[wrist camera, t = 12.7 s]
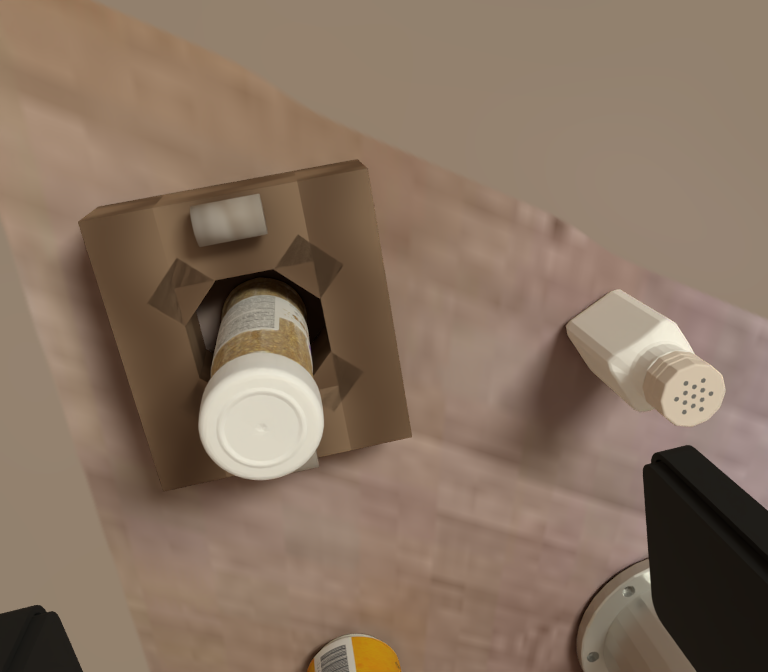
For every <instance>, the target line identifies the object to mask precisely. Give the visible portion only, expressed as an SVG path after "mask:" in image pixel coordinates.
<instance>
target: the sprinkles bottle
mask: <svg viewBox="0 0 768 672" xmlns="http://www.w3.org/2000/svg"><path fill="white" fill-rule="evenodd" d="M221 318H222V322H221V325H220V329H219V333H218V337H217V342H216V347H215V352H214V356H213V361H212V366H211V379H210V380H209V382H208V384H207V386H206V388H205V390H204V393H203V396H202V401H201V405H200V411H199V422H198V429H199V435H200V439H201V442H202V444H203V447H204V449H205V451H206V452H207V454H208V455H209V456H210V458H211V459H212V460H213V461H214V462H215V463H216V464H217V465H218V466H219V467H220V468H222V469H223V470H225V471H227V472H228V473H231V474H233V475H235V476H238V477H241V478H244V479H251V480H270V479H275V478H279V477H282V476H285V475H287V474H290V473H292V472H294V471H295V470H297V469H298V468H300V467H301V466H302V465H304V464H305V463H306V462H307V461H308V460H309V459H310V457H311V456H312V455H313V454H314V452H315V451H316V449H317V447H318V445H319V443H320V440H321V438H322V434H323V428H324V415H323V406H322V400H321V395H320V392H319V389H318V386H317V384H316V382H315V381H314V379H313V365H312V357H311V349H310V342H309V334H308V328H307V312H306V308H305V305H304V303H303V301H302V299H301V297H300V296H299V295H298V293H297V292H296V291H295V290H294V289H293V288H292V287H290V286H289V285H288V284H286V283H284V282H281V281H279V280H276V279H271V278H262V277H259V278H255V279H252V280H248V281H246V282H244V283H242V284H240V285H238V286H237V287H236V288H235V289H234V290H232V291H231V292H230V294H229V296H228V297H227V299H226V301H225V303H224V306H223V309H222V316H221Z"/></svg>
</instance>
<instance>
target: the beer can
mask: <svg viewBox="0 0 768 672" xmlns="http://www.w3.org/2000/svg"><path fill="white" fill-rule="evenodd" d="M307 672H401V668H400V664H399V660H398V657H397V655H396V653H395V652H394V651H393V649H392V648H391V647H390V646H388V645H387V644H386V643H384V642H382V641H380V640H378V639H376V638H374V637H372V636H369V635H365V634H349V635H344V636H341V637H338V638H336V639H334V640H332V641H330V642H329V643H328V644H326V645H325V646H324V647H323V648H322V649H321V650H320V651H319V652H318V653H317V654H316V656H315V657H314V658H313V660H312V661H311V663H310V665H309V667H308V670H307Z"/></svg>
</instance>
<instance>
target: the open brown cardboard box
mask: <svg viewBox="0 0 768 672" xmlns="http://www.w3.org/2000/svg"><path fill="white" fill-rule="evenodd" d="M78 224H79V227H80V230H81V233H82V236H83V239H84V243H85V246H86V249H87V252H88V255H89V258H90V262H91V265H92V268H93V271H94V274H95V277H96V281H97V284H98V287H99V290H100V293H101V296H102V300H103V303H104V306H105V309H106V312H107V315H108V318H109V322H110V325H111V328H112V331H113V334H114V337H115V341H116V344H117V347H118V350H119V353H120V356H121V360H122V363H123V366H124V369H125V372H126V375H127V378H128V382H129V385H130V388H131V391H132V394H133V397H134V401H135V404H136V407H137V410H138V413H139V416H140V420H141V423H142V426H143V429H144V432H145V435H146V438H147V442H148V445H149V448H150V451H151V454H152V457H153V461H154V464H155V467H156V470H157V473H158V476H159V480H160V483H161V486H162V489H163V491H168V490H172V489H177V488H181V487H186V486H190V485H195V484H200V483H204V482H209V481H213V480H218V479H222V478H227V477H232V476H235V475H233V474H231V473H228V472H227V471H225V470H223V469H222V468H220V467H219V466H218V465H217V464H216V463H215V462H214V461H213V460H212V459H211V458H210V456H209V455H208V454H207V452H206V451H205V449H204V447H203V444H202V442H201V439H200V435H199V429H198V422H199V411H200V405H201V401H202V396H203V393H204V390H205V388H206V386H207V384H208V382H209V380H210V379H211V366H212V361H213V356H214V353H212V352H210V351H208V350H206V347H205V344H204V340H203V336H202V332H201V329H200V325H199V321H198V318H197V314H196V309H197V308H198V306H199V305H200V303H201V302H202V300H203V299H204V297H205V296H206V294H207V293H208V291H209V290H210V288H211V287H212V285H213V284H214V282H215V280H220V279H225V278H230V277H235V276H240V275H245V274H251V273H256V272H261V271H266V270H271V269H274V270H275V271H277V272H278V273H280V274H282V275H283V276H285V277H286V278H288V279H289V280H291V281H293V282H294V283H296V284H297V285H299V286H301V287H302V288H304V289H305V290H307V291H308V292H310V293H312V294H313V295H315V296H316V297H318V298H319V299H320V302H321V306H322V311H323V316H324V321H325V326H324V327H323V329H322V330H321V332H320V333H319V334H318V336H317V337H316V339H315V340H314V342H313V343H312V344H311V346H310V349H311V357H312V365H313V379H314V381H315V382H316V384H317V386H318V389H319V392H320V395H321V400H322V406H323V415H324V428H323V434H322V438H321V440H320V443H319V445H318V447H317V449H316V451H315V452H314V454H313V455H312V456H311V457H310V459H309V460H308V461H307V462H306V463H305V464H304V465H302V466H301V467H300V468H298V469H297V470H295V471H294V472H299V471H303V470H308V469H312V468H317V467H319V461H318V457H323V456H328V455H332V454H337V453H341V452H346V451H350V450H355V449H360V448H364V447H369V446H373V445H378V444H382V443H387V442H392V441H396V440H401V439H405V438H410V437H412V433H411V427H410V421H409V415H408V409H407V403H406V397H405V391H404V385H403V379H402V373H401V367H400V361H399V355H398V349H397V342H396V336H395V330H394V324H393V318H392V312H391V306H390V300H389V294H388V288H387V282H386V276H385V270H384V264H383V258H382V252H381V246H380V240H379V234H378V228H377V222H376V215H375V209H374V203H373V197H372V191H371V185H370V179H369V173H368V168H367V167H366V166H364V165H363V164H362V163H361V162H360V161H359V160H358V159H357V160H351V161H346V162H340V163H335V164H329V165H324V166H318V167H313V168H308V169H302V170H297V171H291V172H286V173H280V174H275V175H269V176H264V177H258V178H253V179H247V180H242V181H237V182H231V183H226V184H220V185H215V186H209V187H204V188H198V189H193V190H187V191H182V192H177V193H171V194H166V195H160V196H155V197H149V198H144V199H138V200H133V201H127V202H122V203H117V204H111V205H106V206H100V207H97V208H96V209H95V210H93V211H92V212H91V213H89V214H88V215H87V216H85V217H84V218H83V219H81V220H80V221H79V222H78ZM294 472H292V473H294Z"/></svg>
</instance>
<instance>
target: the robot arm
mask: <svg viewBox="0 0 768 672" xmlns="http://www.w3.org/2000/svg"><path fill="white" fill-rule="evenodd" d="M643 483H644V497H645V511H646V525H647V539H648V554H649V559H646V560H644V561H641V562H639V563H636V564H634V565H633V566H631V567H629V568H628V569H626V570H624V571H623V572H621V573H620V574H618V575H617V576H616V577H615V578H613V579H612V580H611V581H610V582H608V583H607V584H606V585H605V586H604V587H603V588H602V589H601V591H600V592H599V593H598V594H597V595H596V596H595V597H594V599H593V600H592V602H591V603H590V605H589V606H588V608H587V609H586V611H585V613H584V616H583V618H582V620H581V623H580V625H579V630H578V635H577V640H576V641H577V656H578V660H579V663H580V666H581V668H582V670H583V672H768V511H767V510H766V509H765V508H764V507H763V506H762V505H760V504H759V503H758V502H757V501H756V500H755V499H753V498H752V497H751V496H750V495H749V494H748V493H746V492H745V491H744V490H743V489H742V488H741V487H739V486H738V485H737V484H736V483H735V482H734V481H732V480H731V479H730V478H729V477H728V476H727V475H725V474H724V473H723V472H722V471H721V470H720V469H718V468H717V467H716V466H715V465H714V464H713V463H712V462H710V461H709V460H708V459H707V458H706V457H705V456H703V455H702V454H701V453H700V452H699V451H698V450H696V449H695V448H694V447H692V446H690V445H686V446H681V447H677V448H673V449H669V450H665V451H661V452H657V453H655V454H654V455H653V456H652V459H651V464H647V465H645V466H644V468H643ZM0 672H83V671H82V668H81V666H80V664H79V662H78V659H77V657H76V655H75V653H74V650H73V648H72V645H71V643H70V641H69V638H68V636H67V634H66V632H65V629H64V627H63V625H62V622H61V620H60V618H59V616H58V614H56V613H55V612H53V611H51V612H46V611H45V609H44V608H43V607H42V606H40V605H34V606H30V607H27V608H22V609H19V610H14V611H10V612H6V613H2V614H0Z"/></svg>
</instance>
